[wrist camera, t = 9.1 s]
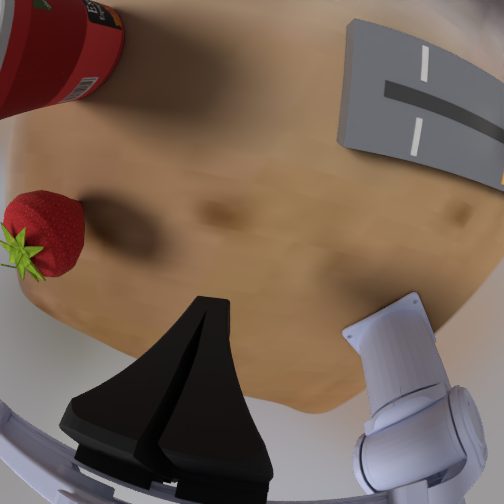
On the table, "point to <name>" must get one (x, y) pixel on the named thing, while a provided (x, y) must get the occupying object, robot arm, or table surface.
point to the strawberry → (43, 233)
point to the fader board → (421, 104)
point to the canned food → (55, 51)
